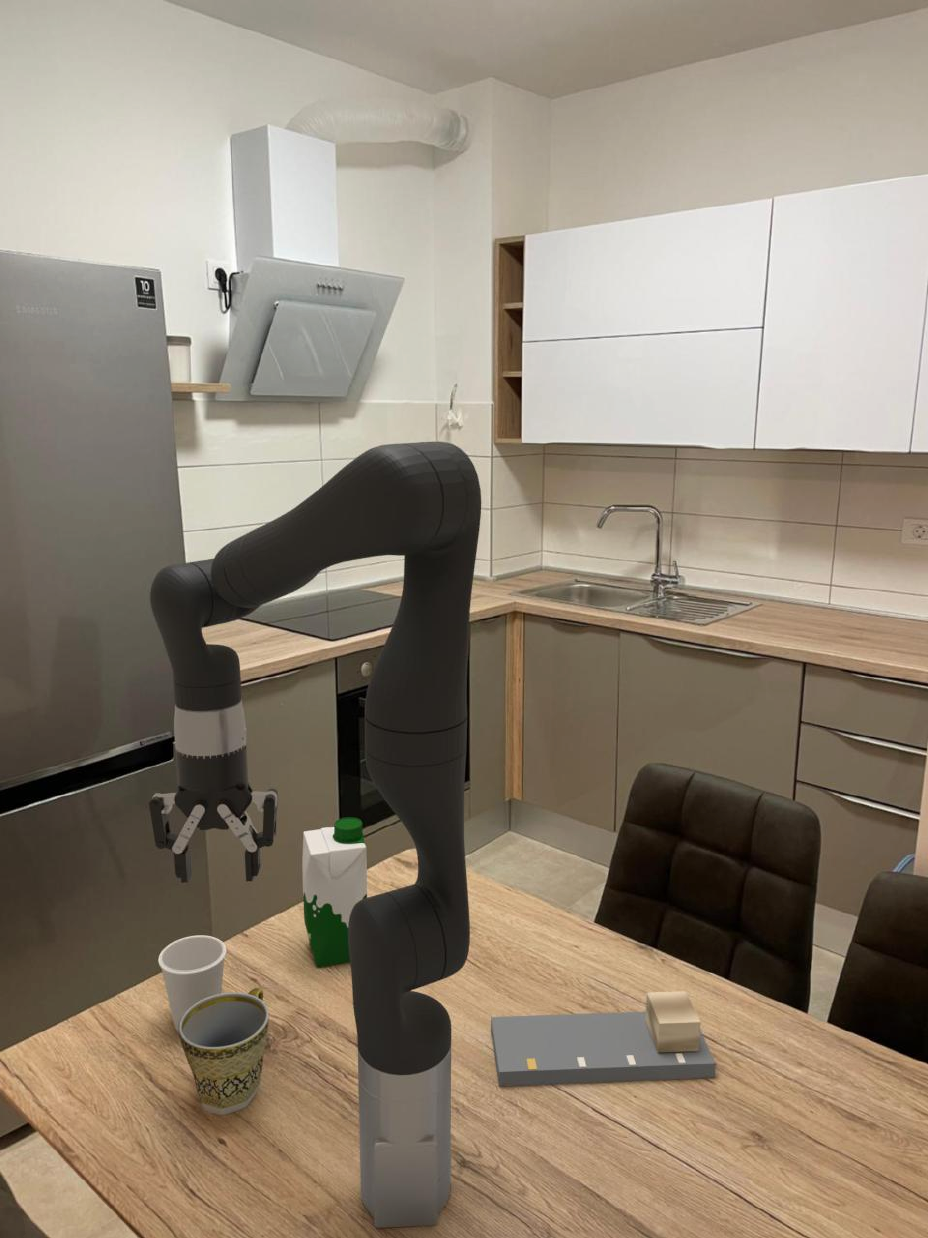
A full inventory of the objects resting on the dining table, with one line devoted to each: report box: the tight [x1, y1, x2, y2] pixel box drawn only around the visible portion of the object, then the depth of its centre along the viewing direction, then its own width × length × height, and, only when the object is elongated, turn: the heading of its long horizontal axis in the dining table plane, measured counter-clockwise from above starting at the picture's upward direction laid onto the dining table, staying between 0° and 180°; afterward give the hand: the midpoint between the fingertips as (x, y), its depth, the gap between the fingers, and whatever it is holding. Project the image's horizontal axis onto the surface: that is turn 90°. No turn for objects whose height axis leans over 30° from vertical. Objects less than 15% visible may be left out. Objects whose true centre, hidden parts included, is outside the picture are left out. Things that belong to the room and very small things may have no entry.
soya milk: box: [301, 816, 368, 969], centre depth 134 cm, size 9×9×20 cm
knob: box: [645, 990, 701, 1052], centre depth 115 cm, size 6×5×4 cm
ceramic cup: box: [178, 987, 270, 1116], centre depth 108 cm, size 13×10×10 cm
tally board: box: [490, 1010, 717, 1088], centre depth 115 cm, size 10×26×2 cm, turn 94°
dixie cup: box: [158, 934, 227, 1033], centre depth 119 cm, size 8×8×10 cm
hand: (219, 878), depth 105 cm, fingers open, 6 cm apart
